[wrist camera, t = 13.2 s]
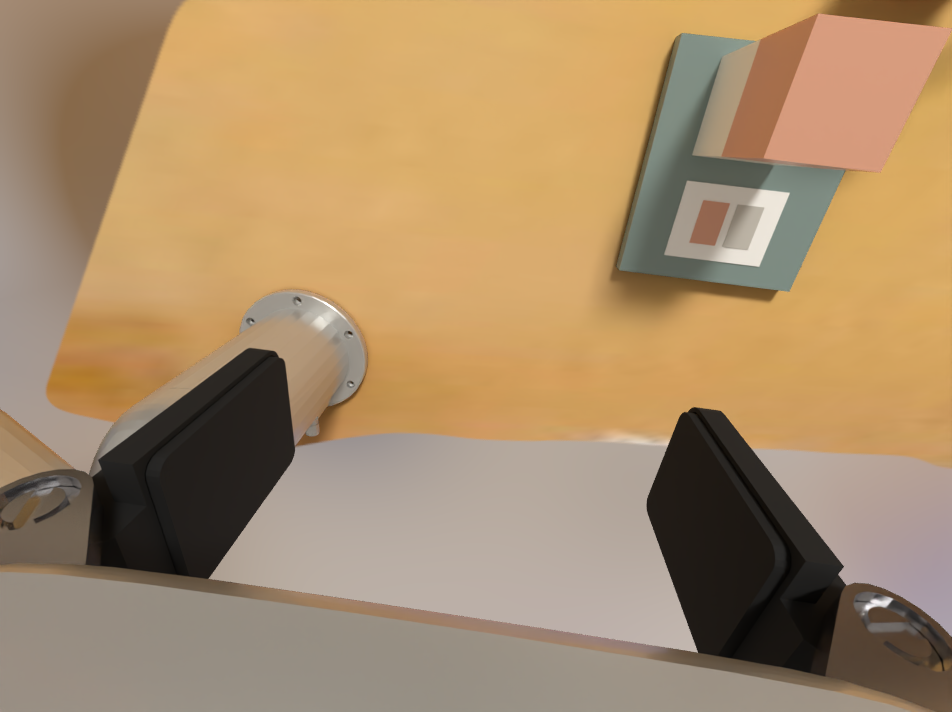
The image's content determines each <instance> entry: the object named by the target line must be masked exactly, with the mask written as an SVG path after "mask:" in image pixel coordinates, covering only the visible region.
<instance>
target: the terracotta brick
mask: <svg viewBox="0 0 952 712" xmlns="http://www.w3.org/2000/svg"><path fill="white" fill-rule="evenodd" d="M951 31H952V28H943V27H934V26H925V25H916V24H907V23H898V22H889V21H880V20H871V19H862V18H853V17H844V16H835V15H826V14H817V15H814V16H812V17H810V18H808V19H805V20H803V21H801V22H799V23H796V24H794V25H792V26H790V27H787V28H785V29H783V30H781V31H778V32H776V33H774V34H772V35H769V36H767V37H765V38H763V39H761V40H760V43H759V46H758V49H757V52H756V55H755V58H754V61H753V64H752V67H751V70H750V73H749V76H748V79H747V82H746V85H745V88H744V91H743V93H742V96H741V99H740V102H739V105H738V108H737V111H736V114H735V117H734V120H733V123H732V126H731V129H730V132H729V135H728V138H727V141H726V144H725V147H724V150H723V153H722V156H721V157H728V158H736V159H745V160H753V161H761V162H769V163H778V164H786V165H794V166H802V167H811V168H820V169H835V170H850V171H866V172H881V170H882V168H883V167H884V165H885V163H886V161H887V159H888V157H889V155H890V153H891V151H892V149H893V147H894V145H895V143H896V141H897V139H898V137H899V135H900V133H901V131H902V129H903V127H904V125H905V123H906V121H907V119H908V117H909V115H910V113H911V111H912V109H913V107H914V105H915V103H916V101H917V99H918V97H919V95H920V93H921V91H922V89H923V87H924V85H925V83H926V81H927V79H928V77H929V75H930V73H931V71H932V69H933V67H934V65H935V63H936V61H937V59H938V57H939V55H940V53H941V51H942V49H943V47H944V45H945V43H946V41H947V39H948V37H949V35H950V33H951Z"/></svg>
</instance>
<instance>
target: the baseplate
mask: <svg viewBox="0 0 952 712" xmlns="http://www.w3.org/2000/svg"><path fill="white" fill-rule="evenodd" d="M760 40H761V39H760ZM760 40H758V41H749V40H740V39H731V38H722V37H713V36H704V35H695V34H686V33H682V34H680V35H679V36H677V37H676V39H675V43H674V46H673V50H672V54H671V58H670V62H669V66H668V69H667V73H666V77H665V81H664V85H663V89H662V92H661V96H660V100H659V104H658V108H657V112H656V116H655V119H654V123H653V127H652V131H651V135H650V139H649V142H648V146H647V150H646V154H645V158H644V162H643V165H642V169H641V173H640V177H639V181H638V185H637V188H636V192H635V196H634V200H633V204H632V208H631V211H630V215H629V219H628V223H627V227H626V231H625V234H624V238H623V242H622V246H621V250H620V254H619V257H618V261H617V265H616V267H617V268H618V269H619V270H621V271H629V272H637V273H645V274H653V275H661V276H669V277H677V278H685V279H693V280H701V281H709V282H717V283H724V284H732V285H740V286H748V287H756V288H764V289H772V290H780V291H788V292H789V291H790V289H791V287H792V285H793V282H794V280H795V278H796V276H797V274H798V272H799V269H800V267H801V265H802V263H803V261H804V259H805V256H806V254H807V252H808V250H809V248H810V246H811V244H812V241H813V239H814V237H815V235H816V233H817V231H818V228H819V226H820V224H821V222H822V220H823V218H824V215H825V213H826V211H827V209H828V207H829V205H830V202H831V200H832V198H833V196H834V194H835V192H836V190H837V187H838V185H839V183H840V181H841V179H842V177H843V174H844V172H845V170H835V169H820V168H811V167H802V166H794V165H786V164H778V163H769V162H761V161H753V160H745V159H736V158H728V157H721V156H722V153H723V150H724V147H725V144H726V141H727V138H728V135H729V132H730V129H731V126H732V123H733V120H734V117H735V114H736V111H737V108H738V105H739V102H740V99H741V96H742V93H743V91H744V88H745V85H746V82H747V79H748V76H749V73H750V70H751V67H752V64H753V61H754V58H755V55H756V52H757V49H758V46H759V43H760Z"/></svg>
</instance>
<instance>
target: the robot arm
mask: <svg viewBox="0 0 952 712" xmlns="http://www.w3.org/2000/svg"><path fill="white" fill-rule="evenodd" d="M299 298H300V299H301V300H300V299H299ZM350 331H351V332H352V333H351V332H350ZM367 365H368V353H367V348H366V344H365V340H364V338H363V336H362V333H361V331H360V330H359V328H358V326H357V325H356V323H355V322H354V320H353V319H352V318H351V317H350V316H349V315H348V314H347V313H346V312H345V311H344V310H343V309H342V308H340V307H339V306H338V305H337V304H335V303H334V302H332V301H330V300H329V299H327V298H325V297H323V296H321V295H318V294H315V293H312V292H309V291H304V290H298V289H293V290H281V291H276V292H273V293H271V294H269V295H266V296H264V297H263V298H261V299H260V300H258V301H257V302H255V303H254V304H253V305H252V306H251V307H250V308H249V309H248V310H247V312H246V313H245V315H244V317H243V319H242V322H241V326H240V332H239V335H237V336H236V337H234V338H233V339H231V340H230V341H228V342H227V343H225V344H224V345H222V346H221V347H219V348H218V349H217V350H215V351H214V352H212V353H211V354H209V355H208V356H206V357H205V358H203V359H202V360H200V361H199V362H197V363H196V364H194V365H193V366H191V367H190V368H188V369H187V370H185V371H184V372H182V373H181V374H179V375H178V376H176V377H175V378H173V379H172V380H170V381H169V382H168V383H166V384H165V385H163V386H162V387H160V388H159V389H157V390H156V391H154V392H153V393H151V394H150V395H148V396H147V397H145V398H144V399H142V400H141V401H139V402H138V403H137V404H135V405H134V406H132V407H131V408H130V409H128V410H127V411H126V412H125V413H124V414H122V416H121V417H120V418H119V419H118V420H117V421H116V422H115V423H114V424H113V425H112V427H111V428H110V430H109V431H108V433H107V434H106V436H105V437H104V439H103V440H102V442H101V444H100V446H99V448H98V450H97V453H96V455H95V457H94V460H93V463H92V466H91V469H90V472H89V475H88V474H87V473H86V472H84V471H79V470H76V469H74V468H73V467H72V466H71V465H70V464H68V463H67V462H66V461H65V460H63V459H62V458H61V457H60V456H58V455H57V454H56V453H55V452H54V451H52V450H51V449H50V448H49V447H47V446H46V445H45V444H44V443H42V442H41V441H40V440H39V439H37V438H36V437H35V436H34V435H32V434H31V433H30V432H29V431H28V430H26V429H25V428H24V427H23V426H21V425H20V424H19V423H18V422H17V421H15V420H14V419H13V418H12V417H10V416H9V415H8V414H7V413H5V412H3V411H2V410H1V409H0V712H952V637H951V636H950V635H949V634H948V632H946V630H945V629H944V628H943V627H942V626H941V625H940V624H939V623H938V622H936V621H935V620H934V619H933V618H931V617H930V616H929V615H928V614H926V613H925V612H924V611H923V610H921V609H920V608H918V607H917V606H915V605H914V604H912V603H910V602H909V601H907V600H906V599H904V598H903V597H901V596H899V595H896V594H894V593H892V592H890V591H888V590H886V589H884V588H881V587H877V586H874V585H871V584H865V583H853V584H850V585H847V586H846V584H845V583H844V582H843V580H842V579H841V578H840V577H839V575H838V574H839V572H840V571H841V570H842V568H843V567H844V566H843V565H842V564H841V562H840V561H839V560H838V559H837V557H836V556H835V555H834V553H833V552H832V551H831V550H830V548H829V547H828V546H827V544H826V543H825V542H824V541H823V539H822V538H821V537H820V536H819V534H818V533H817V532H816V531H815V529H814V528H813V527H812V525H811V524H810V523H809V522H808V520H807V519H806V518H805V516H804V515H803V514H802V513H801V511H800V510H799V509H798V508H797V506H796V505H795V504H794V502H793V501H792V500H791V499H790V498H789V496H788V495H787V494H786V492H785V491H784V490H783V489H782V487H781V486H780V485H779V483H778V482H777V481H776V480H775V478H774V477H773V476H772V475H771V473H770V472H769V471H768V469H767V468H766V467H765V466H764V464H763V463H762V462H761V461H760V459H759V458H758V457H757V455H756V454H755V453H754V452H753V450H752V449H751V448H750V447H749V445H748V444H747V443H746V441H745V440H744V439H743V438H742V436H741V435H740V434H739V433H738V431H737V430H736V429H735V427H734V426H733V425H732V424H731V422H730V421H729V420H728V419H727V417H726V416H725V415H724V414H723V413H722V412H721V411H718V410H711V409H703V408H696V407H694V408H691V409H690V410H689V411H688V413H687V412H684V413H682V414H681V415H680V417H679V419H678V422H677V425H676V427H675V430H674V432H673V435H672V437H671V440H670V442H669V445H668V447H667V450H666V452H665V455H664V457H663V460H662V462H661V465H660V468H659V470H658V473H657V475H656V478H655V480H654V483H653V485H652V488H651V490H650V493H649V495H648V498H647V512H648V516H649V518H650V521H651V524H652V526H653V530H654V532H655V535H656V538H657V541H658V543H659V546H660V549H661V552H662V554H663V557H664V560H665V563H666V565H667V568H668V571H669V573H670V576H671V579H672V582H673V585H674V587H675V590H676V593H677V596H678V598H679V601H680V604H681V607H682V609H683V612H684V615H685V618H686V620H687V623H688V626H689V629H690V631H691V634H692V637H693V640H694V642H695V645H696V648H697V650H698V653H696V652H690V651H685V650H678V649H671V648H665V647H659V646H652V645H646V644H639V643H633V642H627V641H620V640H614V639H608V638H601V637H594V636H588V635H582V634H575V633H569V632H563V631H556V630H549V629H543V628H537V627H530V626H523V625H517V624H511V623H503V622H497V621H491V620H484V619H477V618H470V617H464V616H458V615H451V614H444V613H437V612H431V611H424V610H417V609H411V608H404V607H397V606H390V605H384V604H377V603H371V602H364V601H357V600H350V599H343V598H336V597H329V596H323V595H316V594H309V593H302V592H295V591H288V590H281V589H274V588H266V587H260V586H253V585H246V584H239V583H232V582H225V581H219V580H212V579H209V577H210V576H211V574H212V573H213V572H214V570H215V569H216V567H217V566H218V564H219V563H220V562H221V560H222V559H223V557H224V556H225V555H226V553H227V552H228V551H229V549H230V548H231V546H232V545H233V544H234V542H235V541H236V539H237V538H238V536H239V535H240V534H241V532H242V531H243V529H244V528H245V527H246V525H247V524H248V522H249V521H250V520H251V518H252V517H253V515H254V514H255V513H256V511H257V510H258V508H259V507H260V506H261V504H262V503H263V501H264V500H265V499H266V497H267V496H268V494H269V493H270V492H271V490H272V489H273V487H274V486H275V485H276V483H277V482H278V480H279V479H280V477H281V476H282V475H283V473H284V472H285V471H286V469H287V468H288V466H289V465H290V463H291V462H292V459H293V457H294V453H295V446H296V444H297V443H298V442H299V440H300V439H301V438H302V436H303V435H304V433H306V435H307V436H316V435H318V434H319V432H320V429H319V421H318V418H319V417H320V416H321V414H322V413H323V412H324V410H325V409H326V407H327V406H332V405H335V404H338V403H340V402H342V401H344V400H345V399H347V398H349V397H350V396H351V395H352V394H353V393H354V392H355V391H356V390H357V388H358V387H359V385H360V384H361V382H362V380H363V378H364V376H365V374H366V370H367Z"/></svg>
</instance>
